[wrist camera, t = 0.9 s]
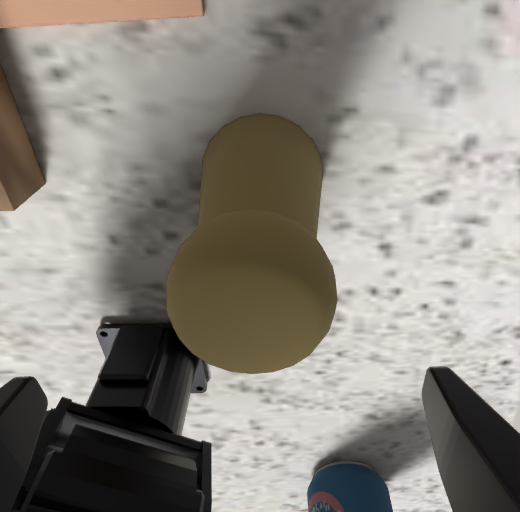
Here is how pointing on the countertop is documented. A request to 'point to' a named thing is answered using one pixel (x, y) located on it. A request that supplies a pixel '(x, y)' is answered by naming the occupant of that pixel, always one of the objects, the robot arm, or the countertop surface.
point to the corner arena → (3, 105)
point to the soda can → (348, 489)
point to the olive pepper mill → (255, 252)
